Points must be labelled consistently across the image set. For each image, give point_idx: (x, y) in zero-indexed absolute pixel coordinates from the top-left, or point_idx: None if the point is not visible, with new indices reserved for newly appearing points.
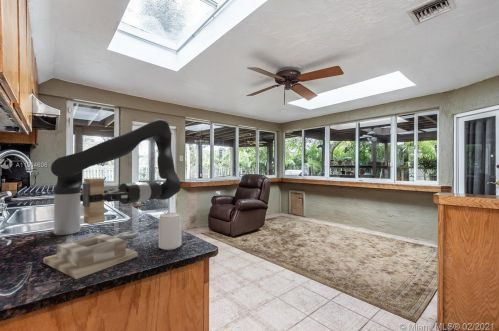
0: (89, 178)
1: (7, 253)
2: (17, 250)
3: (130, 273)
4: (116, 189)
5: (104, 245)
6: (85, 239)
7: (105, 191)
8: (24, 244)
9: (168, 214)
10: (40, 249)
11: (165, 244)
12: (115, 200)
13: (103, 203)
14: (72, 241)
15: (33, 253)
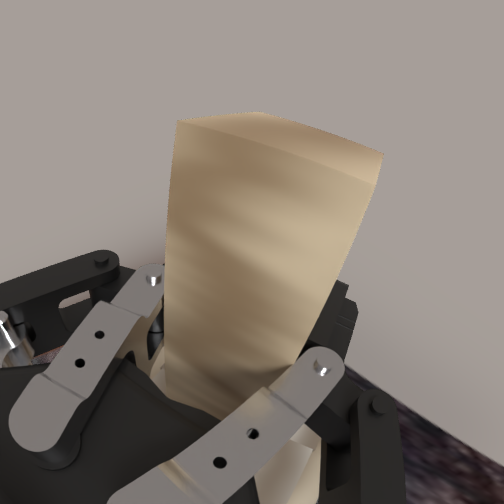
0: (377, 160)
1: (471, 451)
2: (473, 470)
3: (58, 350)
4: (53, 419)
5: None
6: (271, 476)
7: (226, 425)
8: (497, 497)
9: None
10: (439, 497)
11: None
12: (63, 314)
13: (167, 358)
14: (304, 450)
15: (426, 472)
